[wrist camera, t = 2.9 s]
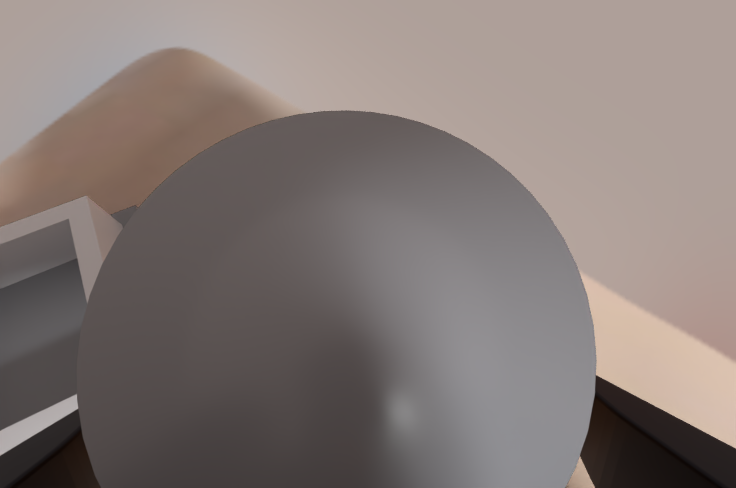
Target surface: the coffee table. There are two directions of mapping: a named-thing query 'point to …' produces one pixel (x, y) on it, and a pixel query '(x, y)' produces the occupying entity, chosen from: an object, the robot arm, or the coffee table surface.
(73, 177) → the coffee table surface
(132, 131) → the coffee table surface
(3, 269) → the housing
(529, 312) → the peg
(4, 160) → the coffee table surface
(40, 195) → the coffee table surface
